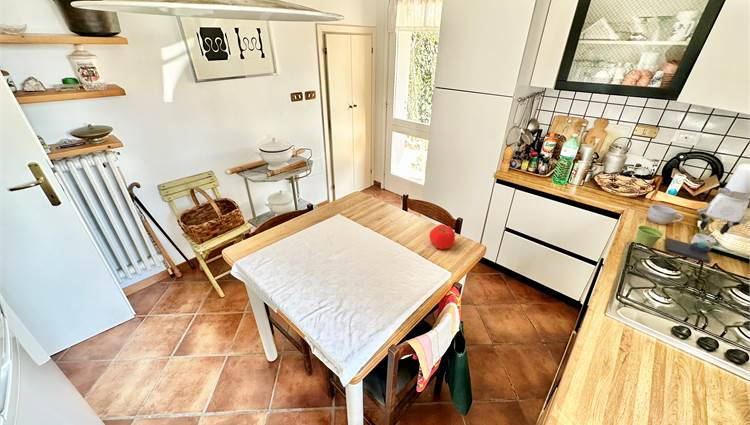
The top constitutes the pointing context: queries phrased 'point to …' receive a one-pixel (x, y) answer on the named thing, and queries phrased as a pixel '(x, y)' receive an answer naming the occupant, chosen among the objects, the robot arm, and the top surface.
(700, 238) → the bowl
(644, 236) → the plant pot
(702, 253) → the scale
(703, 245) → the tare button
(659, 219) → the teacup
